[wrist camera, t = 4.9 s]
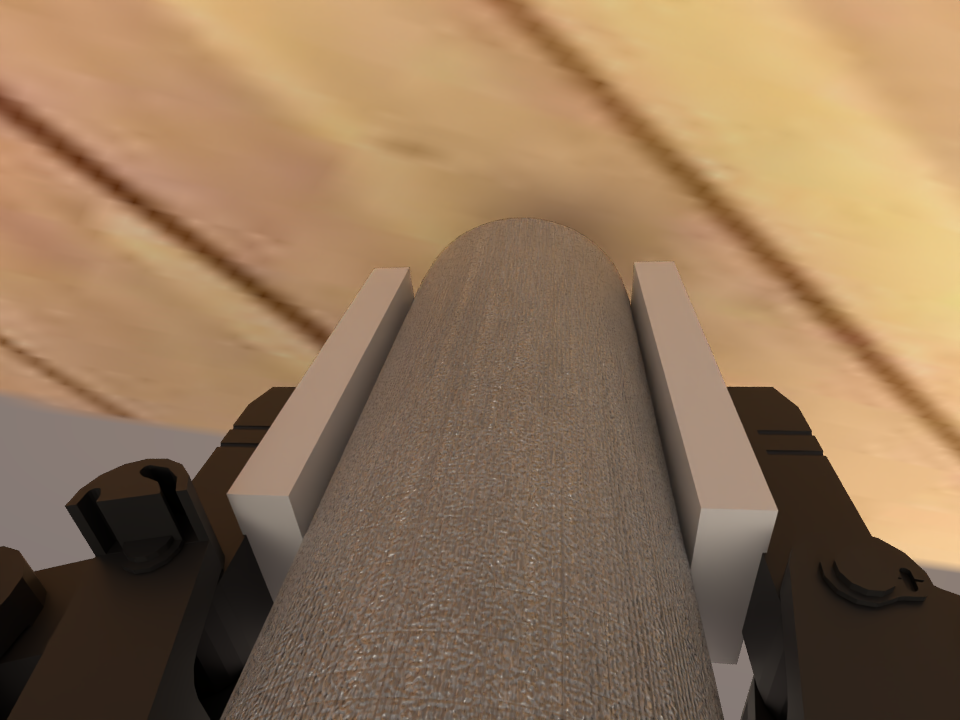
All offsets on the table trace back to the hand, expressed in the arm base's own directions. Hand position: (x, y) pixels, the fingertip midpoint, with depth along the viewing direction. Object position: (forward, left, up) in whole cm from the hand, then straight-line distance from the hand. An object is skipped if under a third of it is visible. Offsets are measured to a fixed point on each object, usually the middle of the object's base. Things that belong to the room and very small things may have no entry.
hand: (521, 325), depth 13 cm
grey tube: (0, 0, -1) cm, 1 cm away
